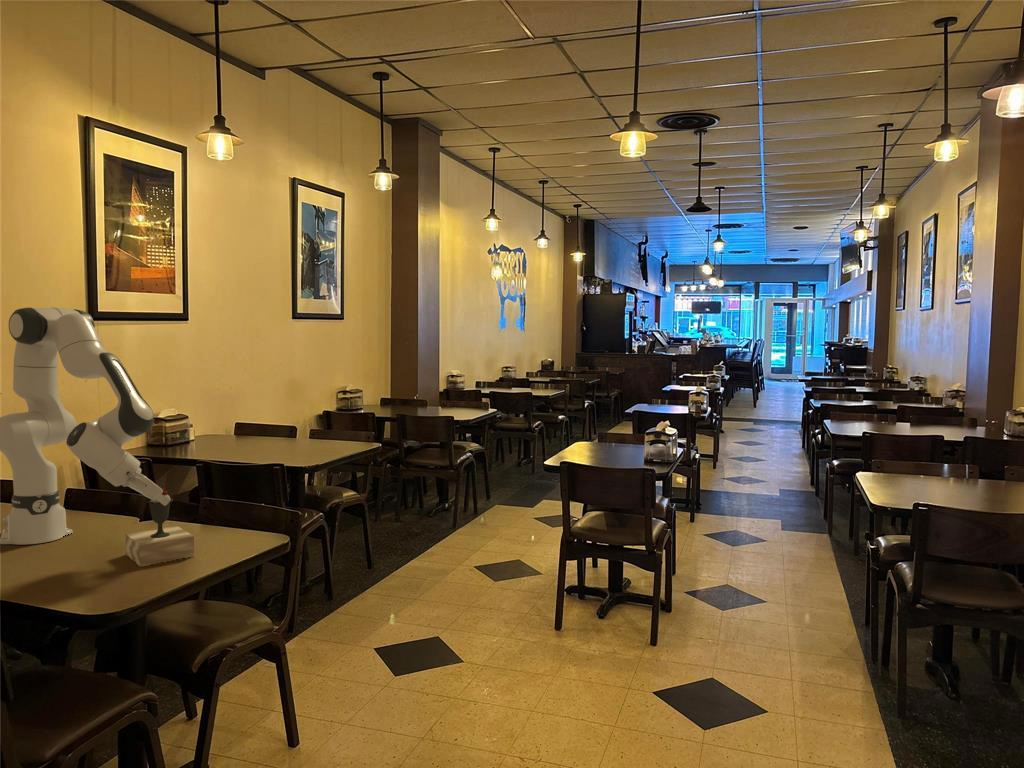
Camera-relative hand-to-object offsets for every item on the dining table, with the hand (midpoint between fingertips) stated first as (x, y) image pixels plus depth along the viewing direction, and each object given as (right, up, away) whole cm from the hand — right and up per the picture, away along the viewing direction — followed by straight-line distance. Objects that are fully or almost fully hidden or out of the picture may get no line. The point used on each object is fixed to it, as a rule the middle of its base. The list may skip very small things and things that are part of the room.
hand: (161, 500), depth 204 cm
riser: (-1, -16, +1) cm, 16 cm away
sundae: (0, -10, 0) cm, 10 cm away
